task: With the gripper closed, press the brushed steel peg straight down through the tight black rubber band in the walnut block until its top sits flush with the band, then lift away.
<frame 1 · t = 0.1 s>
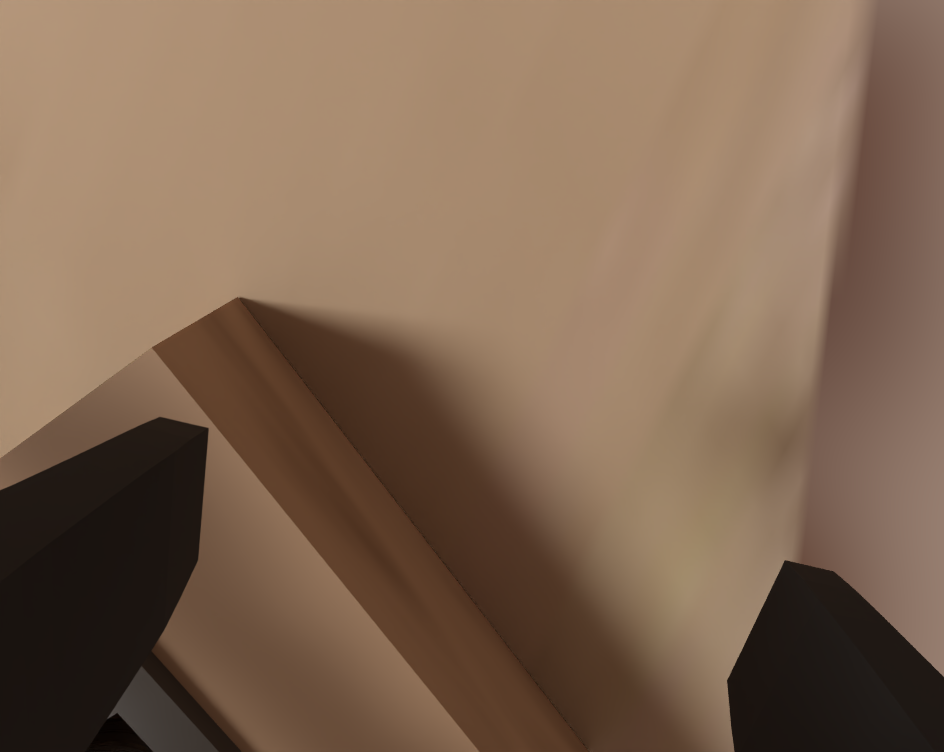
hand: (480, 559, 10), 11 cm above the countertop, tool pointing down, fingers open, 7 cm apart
walnut block: (200, 680, 23), on the countertop
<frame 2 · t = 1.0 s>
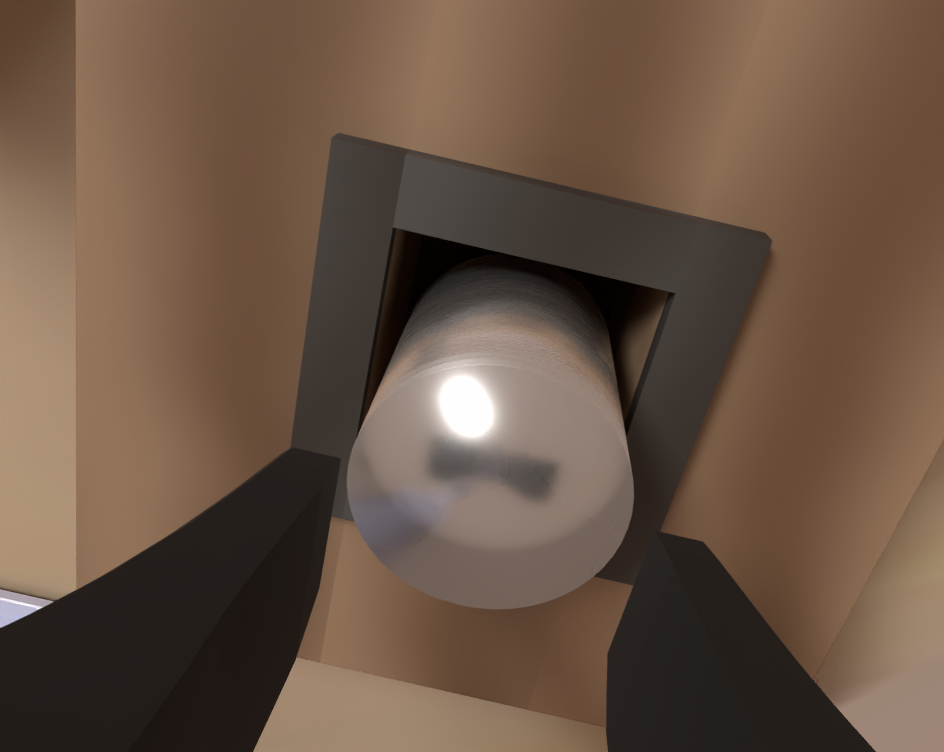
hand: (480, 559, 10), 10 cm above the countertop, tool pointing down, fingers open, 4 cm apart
steel peg: (498, 413, 14), point 7 cm above the countertop, slide at 3.5 cm
walnut block: (514, 286, 20), on the countertop
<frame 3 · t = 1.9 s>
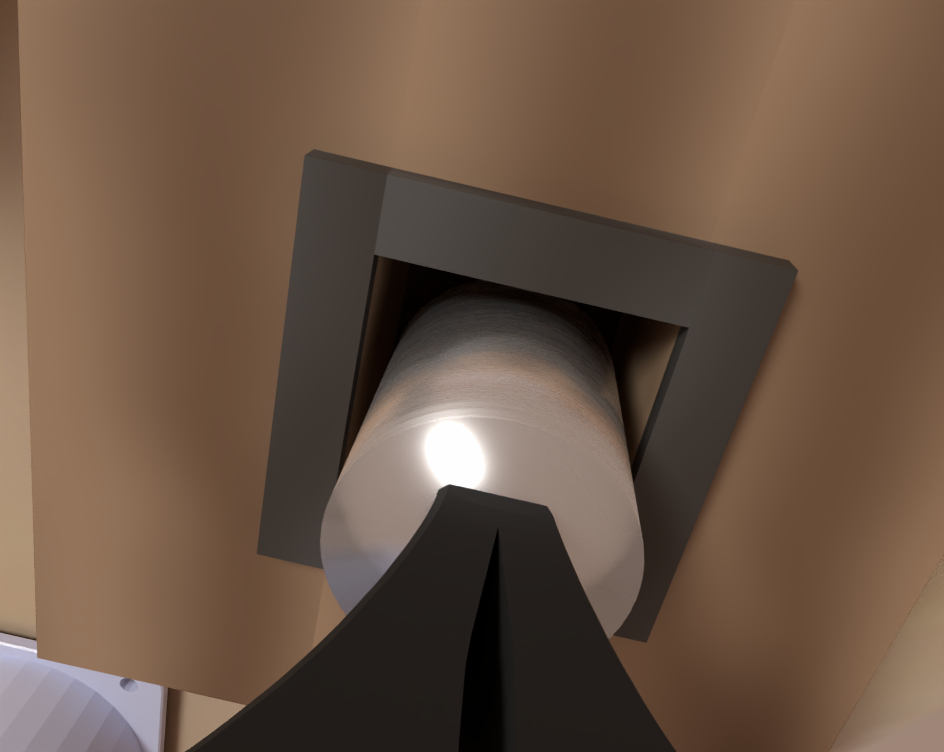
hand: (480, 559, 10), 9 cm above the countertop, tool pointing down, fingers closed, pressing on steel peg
steel peg: (492, 457, 12), point 6 cm above the countertop, slide at 3.4 cm, touching gripper
walnut block: (511, 309, 18), on the countertop
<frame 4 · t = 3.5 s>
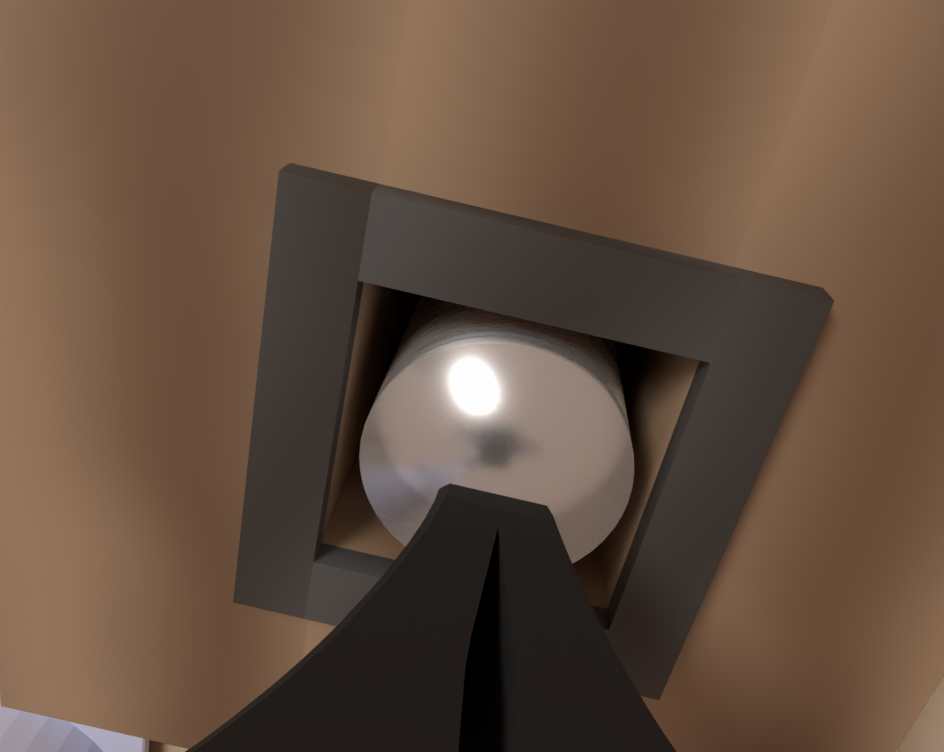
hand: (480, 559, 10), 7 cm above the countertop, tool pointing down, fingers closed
steel peg: (504, 393, 14), point 3 cm above the countertop, slide at 0.0 cm
walnut block: (512, 328, 17), on the countertop
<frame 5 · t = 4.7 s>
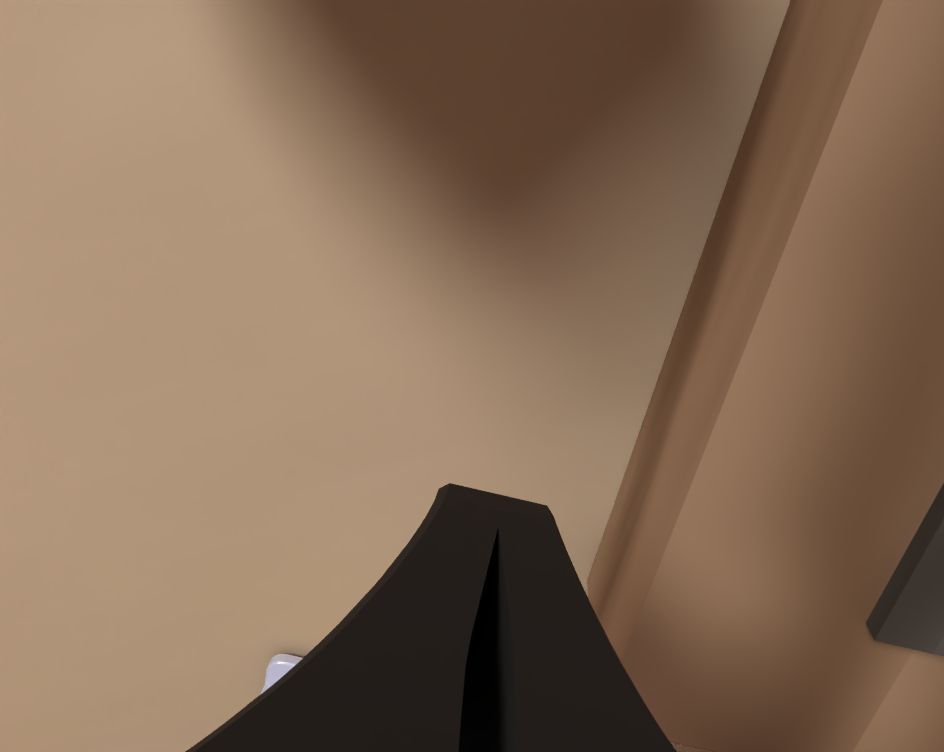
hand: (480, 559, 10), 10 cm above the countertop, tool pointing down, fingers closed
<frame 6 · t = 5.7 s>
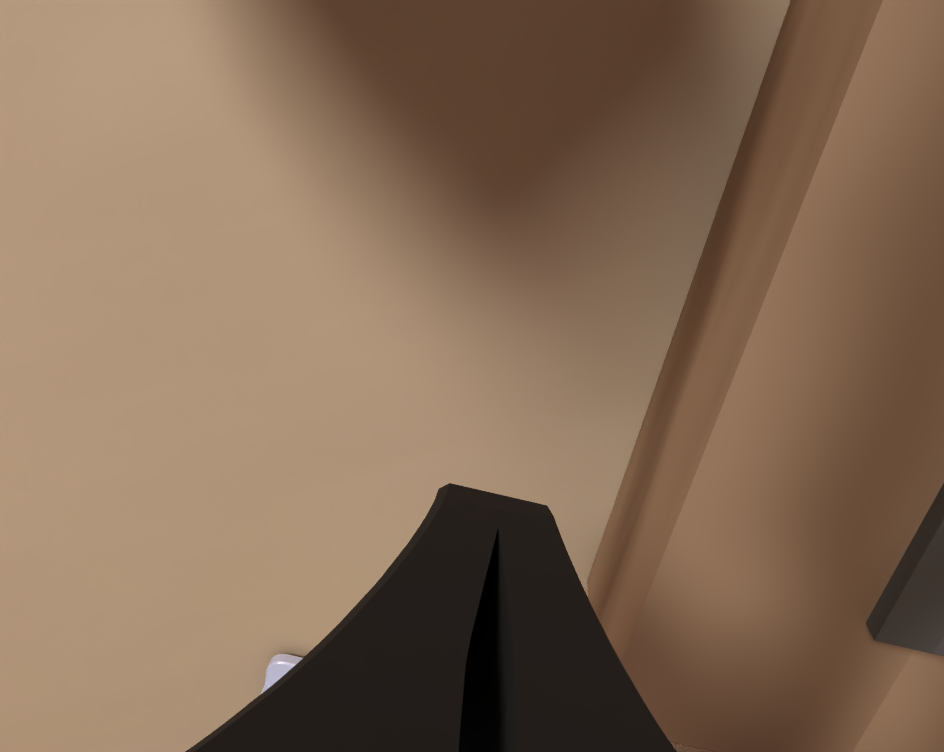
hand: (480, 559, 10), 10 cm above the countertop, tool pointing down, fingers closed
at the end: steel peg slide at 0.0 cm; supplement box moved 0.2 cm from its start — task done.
